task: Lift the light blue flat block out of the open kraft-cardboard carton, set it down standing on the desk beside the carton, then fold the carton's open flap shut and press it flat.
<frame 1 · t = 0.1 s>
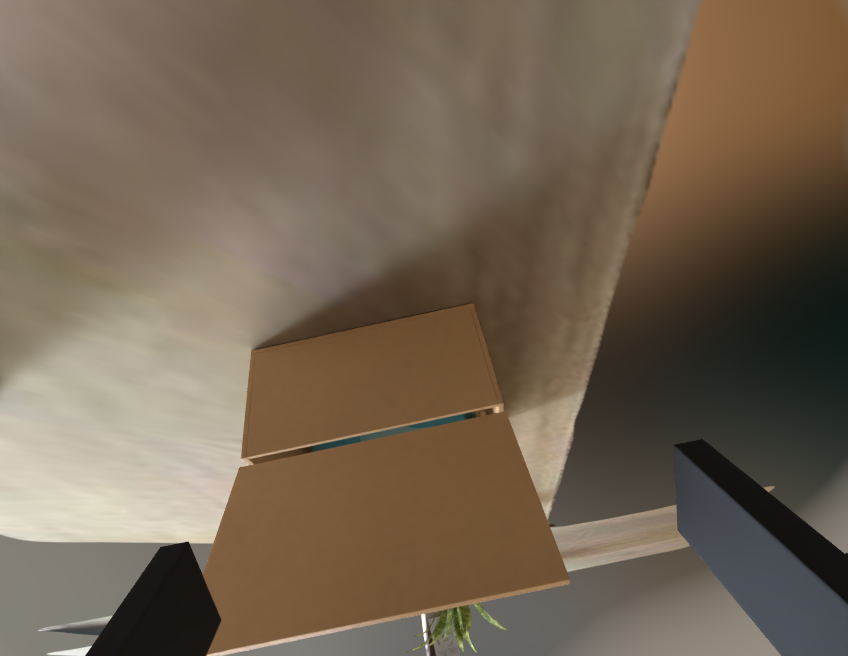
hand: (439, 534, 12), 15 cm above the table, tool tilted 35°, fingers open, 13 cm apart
carton: (390, 396, 36), on the table
coffee box: (431, 579, 104), on the table
house plant: (436, 522, 68), on the table
light blue flat block: (390, 397, 36), resting on carton
flap: (372, 514, 20), point 12 cm above the table, hinge at 112.0°
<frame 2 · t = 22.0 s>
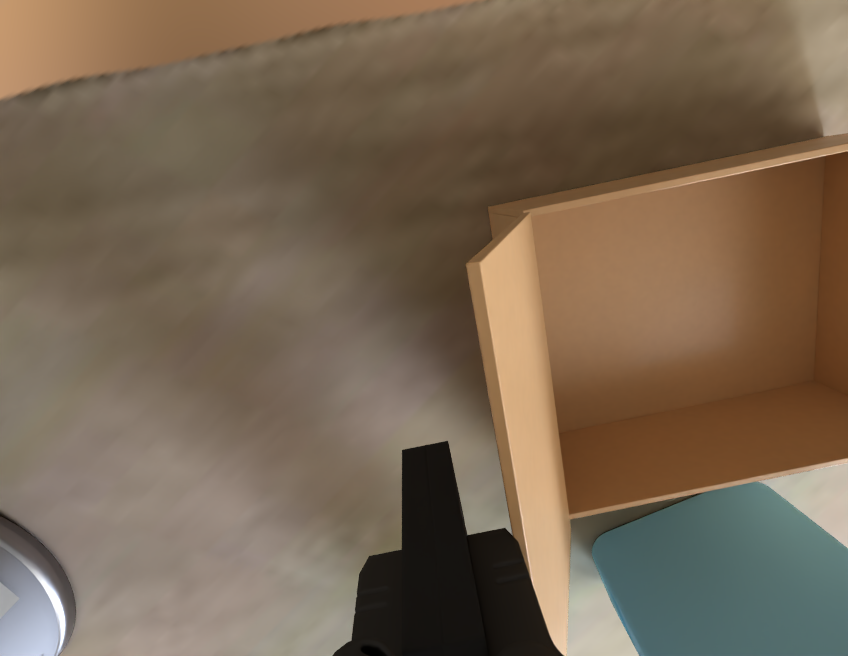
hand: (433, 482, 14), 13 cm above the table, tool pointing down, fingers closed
carton: (662, 301, 26), on the table
light blue flat block: (673, 528, 31), on the table
flap: (539, 451, 15), point 12 cm above the table, hinge at 111.7°, touching gripper
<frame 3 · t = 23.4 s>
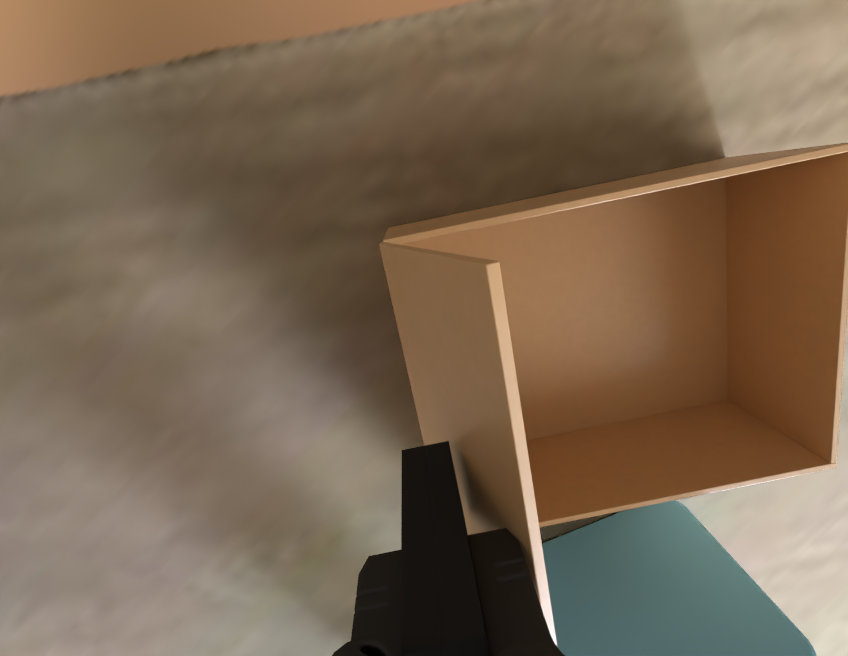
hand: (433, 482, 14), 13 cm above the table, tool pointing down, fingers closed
carton: (571, 320, 26), on the table
light blue flat block: (595, 546, 31), on the table
flap: (463, 471, 15), point 12 cm above the table, hinge at 74.7°, touching gripper
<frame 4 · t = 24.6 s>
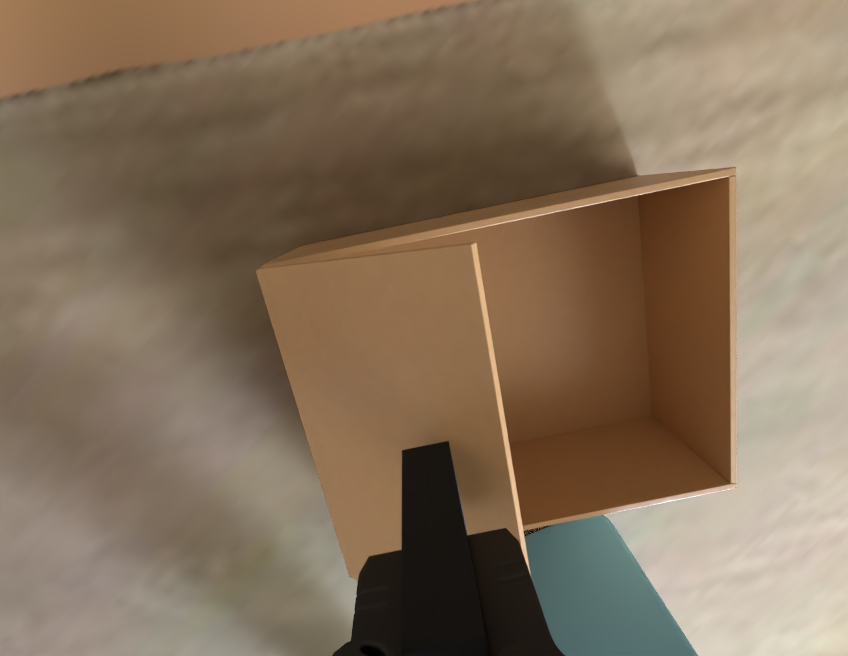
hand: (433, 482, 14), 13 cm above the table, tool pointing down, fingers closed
carton: (490, 337, 26), on the table
light blue flat block: (527, 559, 31), on the table
flap: (395, 456, 16), point 11 cm above the table, hinge at 36.6°
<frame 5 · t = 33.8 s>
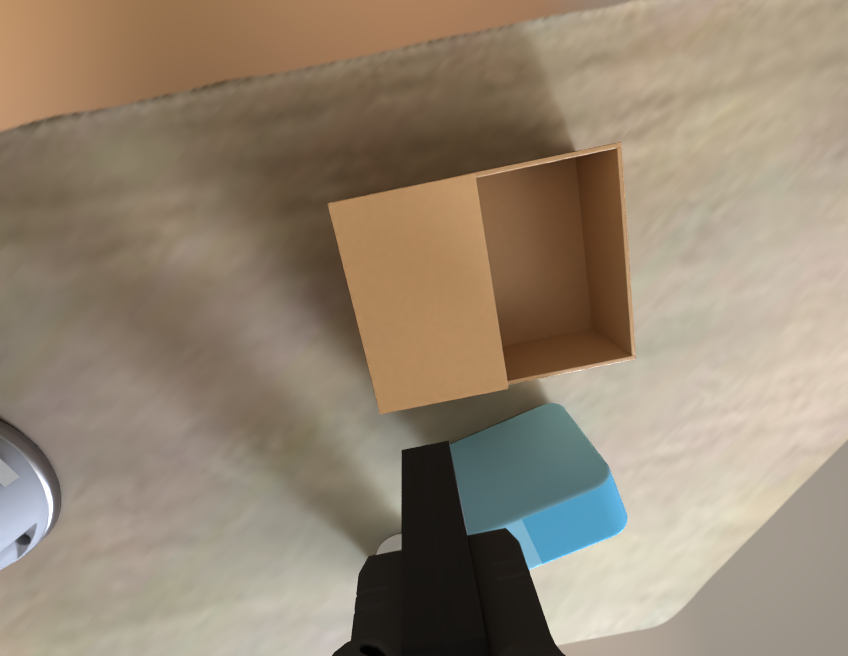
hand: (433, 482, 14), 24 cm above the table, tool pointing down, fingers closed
white ridged cylinder: (405, 556, 45), on the table
carton: (475, 269, 37), on the table
light blue flat block: (504, 442, 42), on the table
flap: (424, 301, 30), point 8 cm above the table, hinge at 0.5°
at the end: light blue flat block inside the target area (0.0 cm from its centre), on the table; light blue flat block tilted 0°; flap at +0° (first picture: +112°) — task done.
